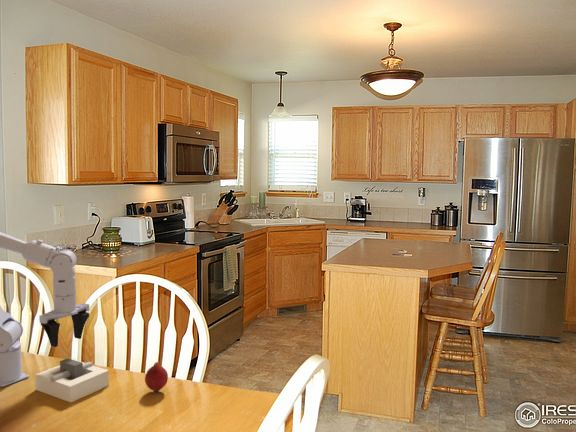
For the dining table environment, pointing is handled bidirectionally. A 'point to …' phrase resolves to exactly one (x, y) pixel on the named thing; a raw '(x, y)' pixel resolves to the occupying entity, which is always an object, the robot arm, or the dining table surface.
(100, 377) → the shallow white tray
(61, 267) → the robot arm
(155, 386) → the onion
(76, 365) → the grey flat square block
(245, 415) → the dining table surface
